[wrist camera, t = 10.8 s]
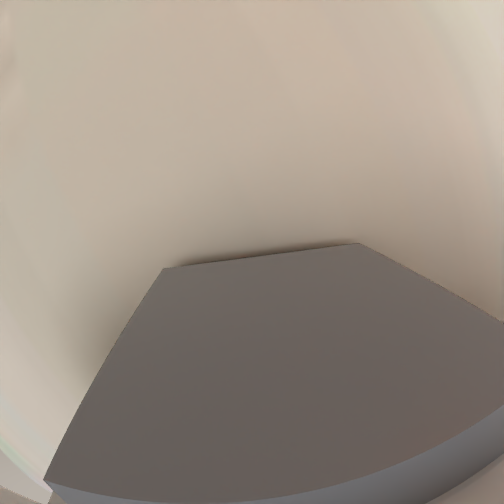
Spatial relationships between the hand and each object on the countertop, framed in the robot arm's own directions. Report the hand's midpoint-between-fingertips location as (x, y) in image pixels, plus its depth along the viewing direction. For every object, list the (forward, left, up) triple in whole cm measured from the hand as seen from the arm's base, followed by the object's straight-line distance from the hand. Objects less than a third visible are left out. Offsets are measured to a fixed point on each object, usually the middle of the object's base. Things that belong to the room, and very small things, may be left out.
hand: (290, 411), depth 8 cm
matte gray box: (0, -1, -4) cm, 4 cm away
